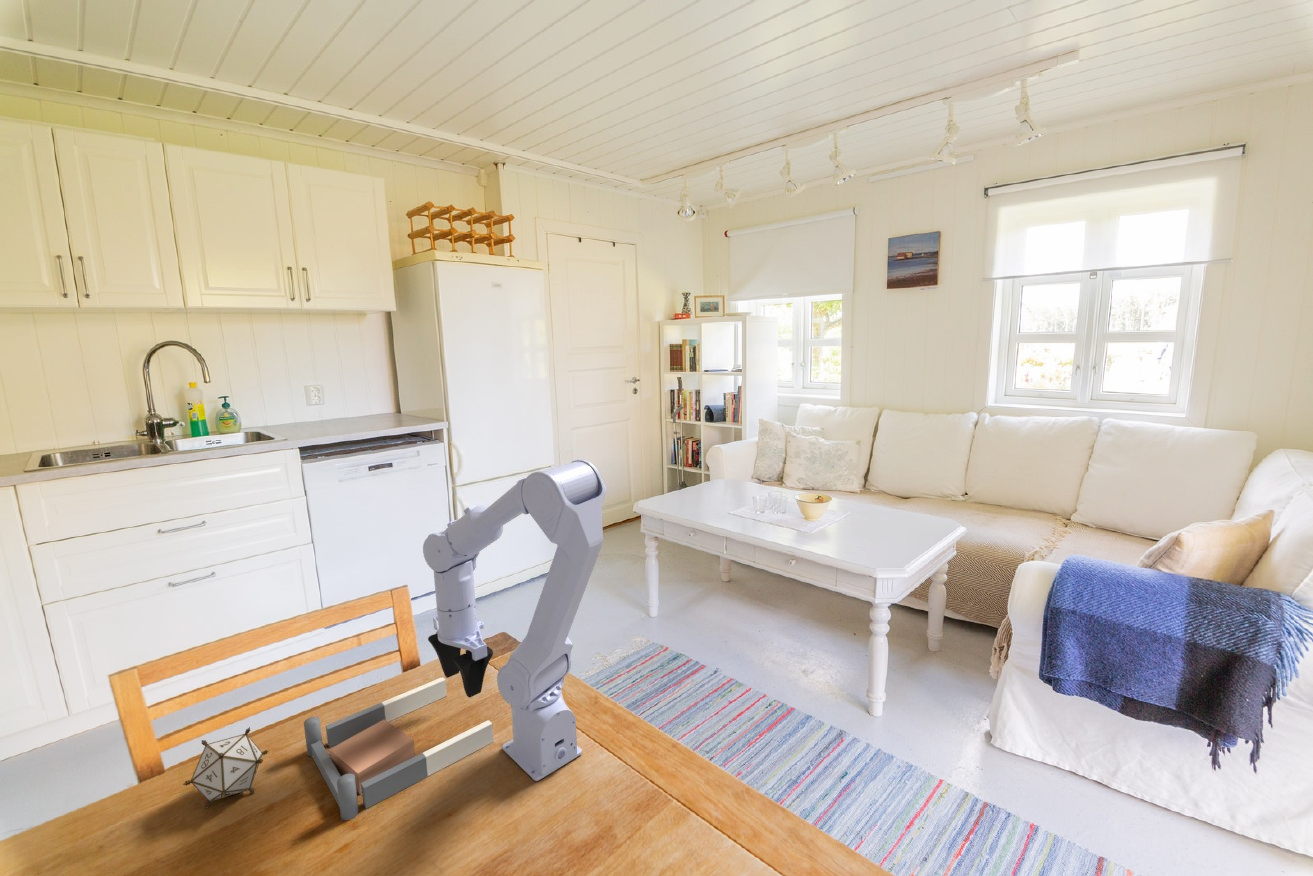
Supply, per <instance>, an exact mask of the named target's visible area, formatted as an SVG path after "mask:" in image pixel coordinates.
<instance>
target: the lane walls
mask: <svg viewBox="0 0 1313 876" xmlns="http://www.w3.org/2000/svg"><path fill="white" fill-rule="evenodd" d="M447 696H448V693H447V681H446V679H445V678H444V677H443V676H442V677H438V678H437V679H435V680H432V681H429V682H427V683H425V684H423V685H420V686H418V687H415V688H413V689H410V690H407V691H406V692H404V693H400V694H398V695H396V696H393V697H391V698H389V699H386V700H384V701H381V702H382V704H383V705H384V709H385V719H386V721H387V722H389V723H390V722H392V721H393V720H396V719H398V718H400V717H402V716H405V715H407V714H409V713H411V712H414V711H416V710H419V709H421V708H423V707H426V706H427V705H430V704H432V703H435V702H436V701H439V700H440V699H443V698H446V697H447ZM493 742H494V729H493V722H491V721H490V720H489V719H487V720H486V721H484V722H482V723H479V724H478V725H475V726H474V727H471V728H469V729H468V730H466V731H463V732H461V733H459V734H457V735H455V736H453V737H451V738H450V739H447V740H445V741H443V742H441V743H439V744H437V745H436V746H433V747H431V748H429V749H427V750H425V751H424V752H423V751H422V753H423V754H424V755H425V756H426V763H427V774H428V777H429V776H432V775H434V774H435V773H437V772H439V771H442V770H443V769H444V768H447V767H448V766H450V765H452V764H454V763H456V762H458V761H460V760H462V759H464V758H465V757H467V756H469V755H471V754H473V753H475V752H477V751H478V750H481V749H483V748H484V747H487V746H488V745H490V744H493Z"/></svg>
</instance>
